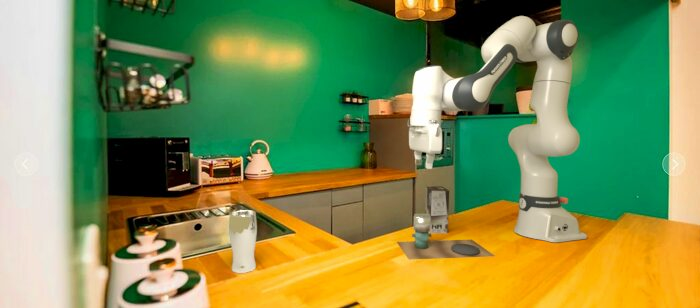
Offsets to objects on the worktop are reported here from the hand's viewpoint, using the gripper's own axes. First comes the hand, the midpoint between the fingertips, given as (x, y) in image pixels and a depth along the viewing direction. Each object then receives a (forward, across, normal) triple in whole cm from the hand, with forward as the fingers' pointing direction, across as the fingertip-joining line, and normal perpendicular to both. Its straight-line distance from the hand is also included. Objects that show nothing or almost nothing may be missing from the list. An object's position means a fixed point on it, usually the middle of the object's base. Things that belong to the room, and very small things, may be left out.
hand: (423, 166), depth 98 cm
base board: (+26, -3, -7) cm, 26 cm away
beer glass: (+28, -9, +50) cm, 58 cm away
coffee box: (+26, +16, -12) cm, 32 cm away
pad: (+24, -5, -13) cm, 28 cm away
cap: (+19, -1, 0) cm, 19 cm away
